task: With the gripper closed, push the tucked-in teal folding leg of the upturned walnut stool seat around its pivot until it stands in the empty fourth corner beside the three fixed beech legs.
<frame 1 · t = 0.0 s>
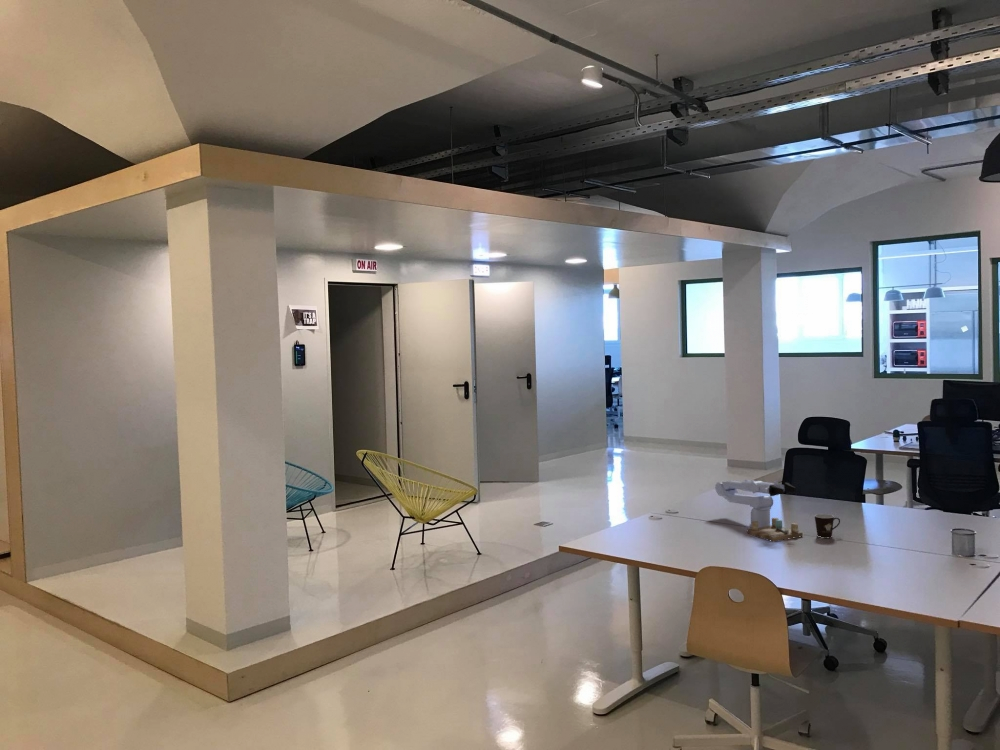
hand: (789, 490, 373), 22 cm above the table, tool horizontal, fingers open, 7 cm apart
coffee mug: (827, 537, 368), on the table
stool seat: (774, 535, 375), on the table
folding leg: (782, 526, 373), point 4 cm above the table, hinge at -108.0°
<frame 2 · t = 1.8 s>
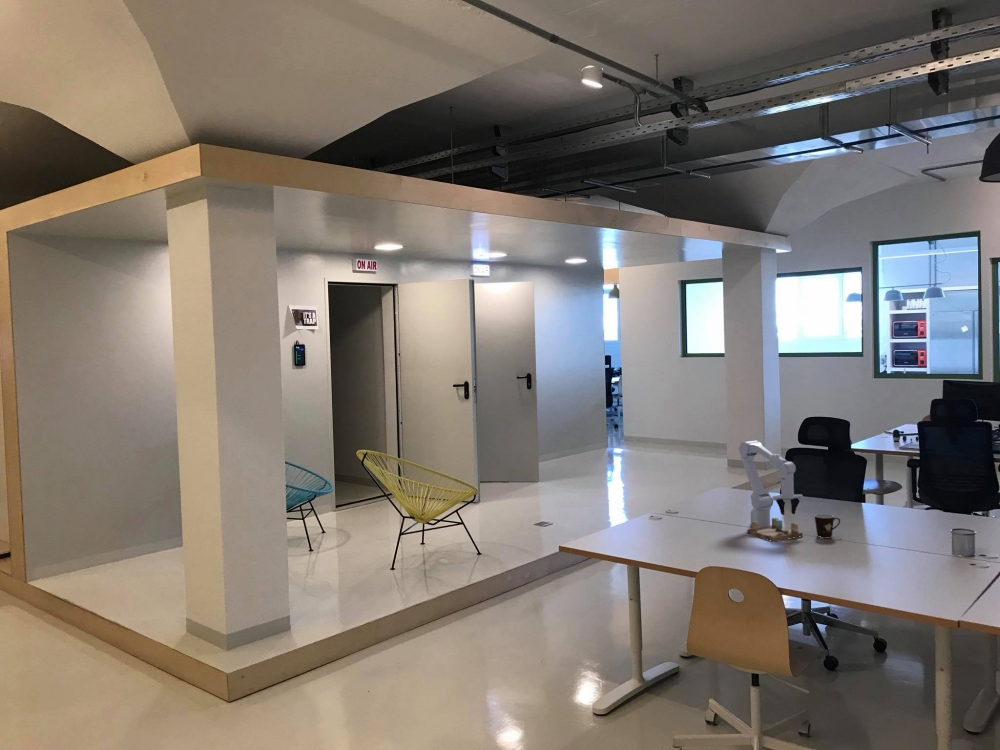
hand: (787, 514, 377), 9 cm above the table, tool pointing down, fingers open, 5 cm apart
nothing on the table moved.
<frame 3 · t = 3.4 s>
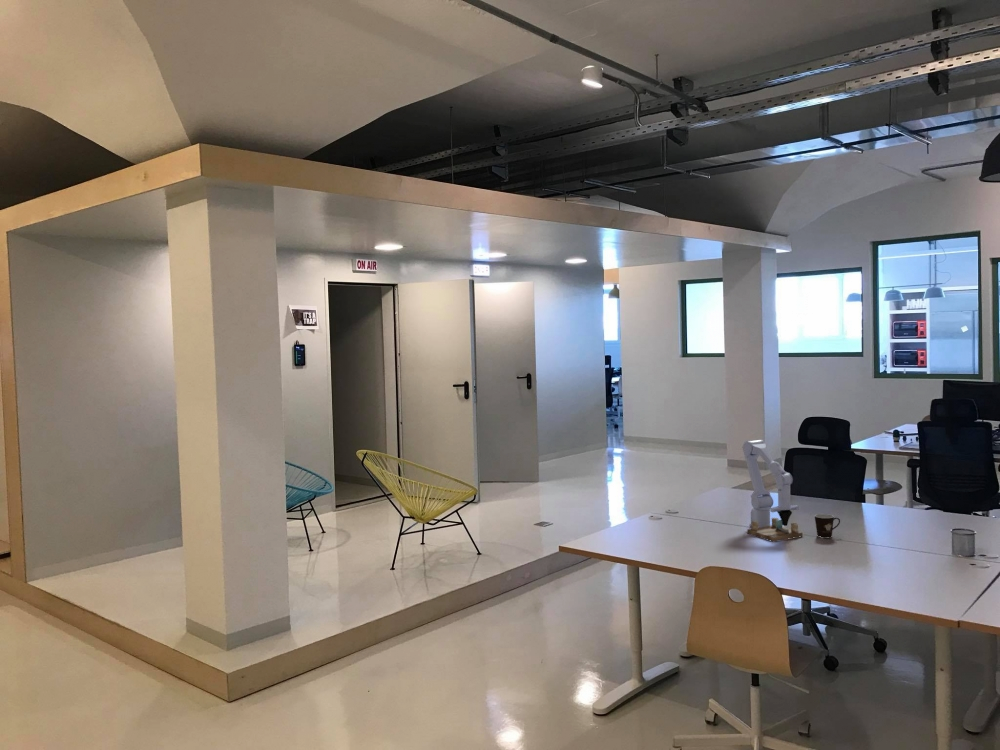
hand: (784, 525, 377), 4 cm above the table, tool pointing down, fingers closed
folding leg: (782, 526, 373), point 4 cm above the table, hinge at -108.0°, touching gripper
everything else where it was.
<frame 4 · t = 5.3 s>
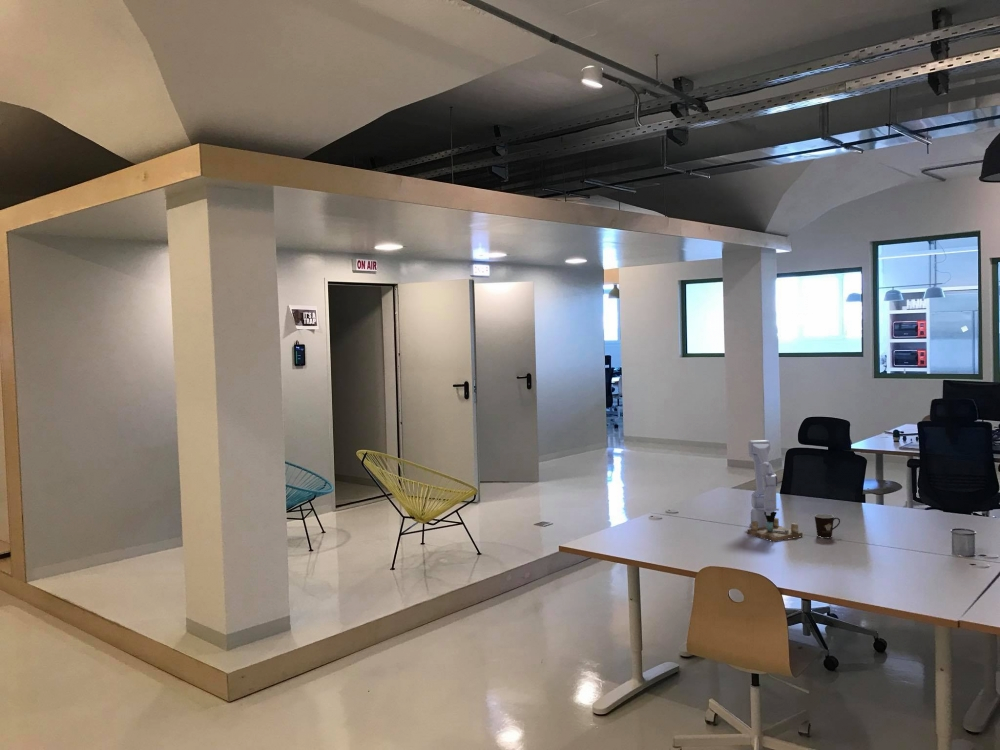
hand: (770, 526, 375), 4 cm above the table, tool pointing down, fingers closed, pressing on folding leg
folding leg: (777, 527, 371), point 4 cm above the table, hinge at -59.2°, touching gripper
everything else where it was.
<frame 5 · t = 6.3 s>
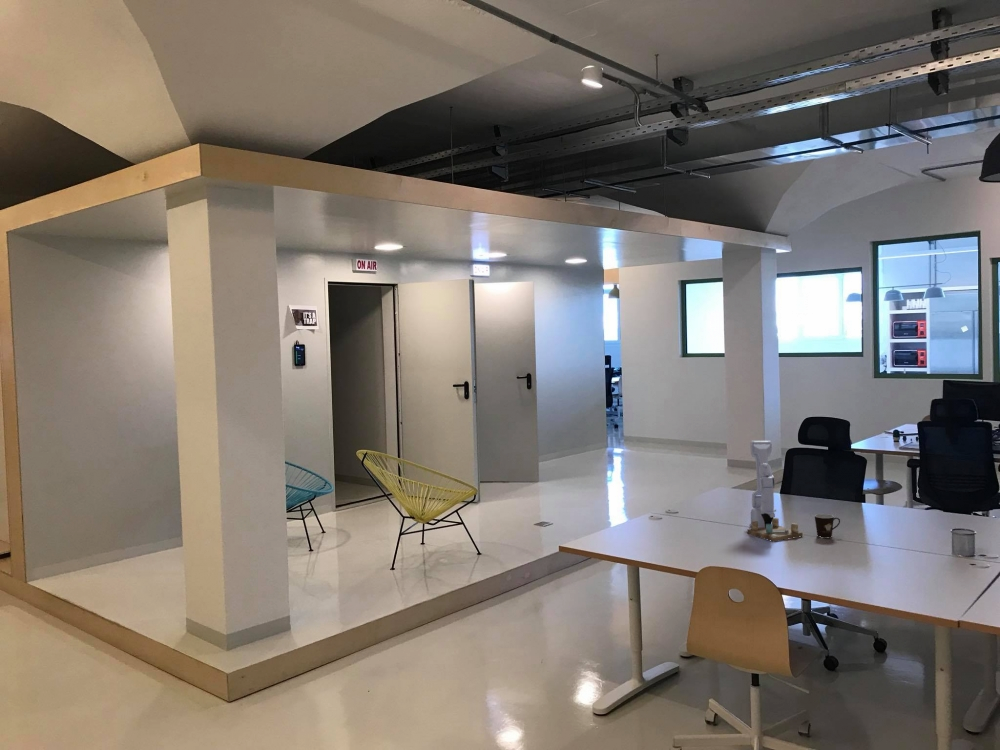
hand: (767, 528, 372), 4 cm above the table, tool pointing down, fingers closed, pressing on folding leg
folding leg: (777, 528, 370), point 4 cm above the table, hinge at -31.6°, touching gripper
everything else where it was.
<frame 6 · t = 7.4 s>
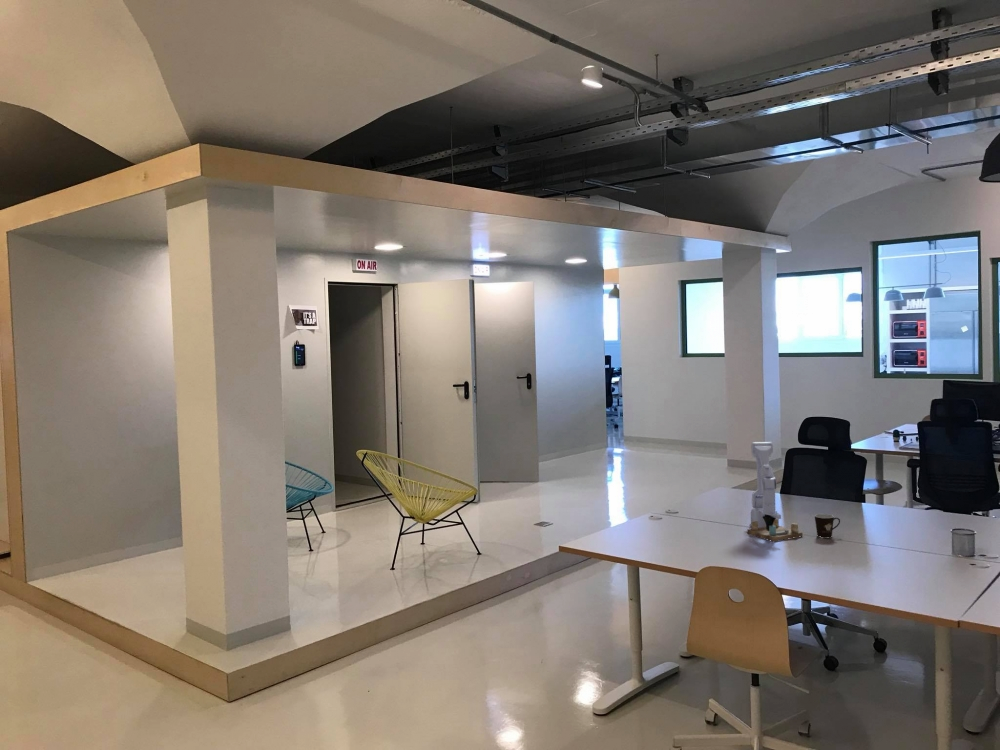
hand: (769, 530, 368), 4 cm above the table, tool pointing down, fingers closed, pressing on folding leg
folding leg: (779, 529, 368), point 4 cm above the table, hinge at -5.3°, touching gripper
everything else where it was.
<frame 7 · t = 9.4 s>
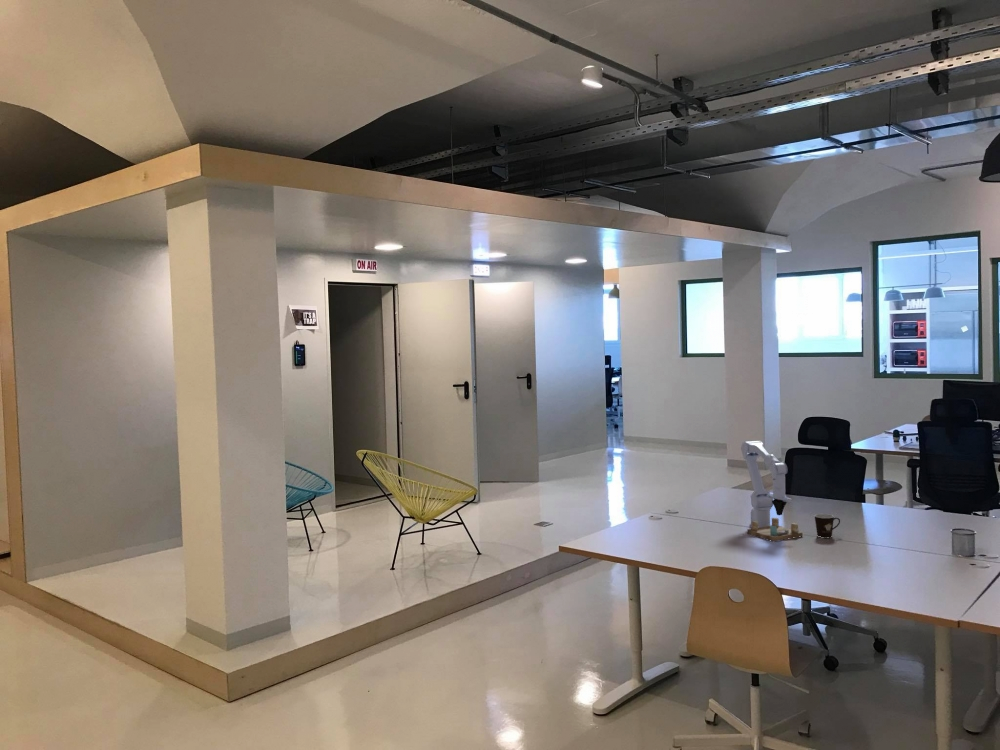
hand: (779, 514, 376), 9 cm above the table, tool pointing down, fingers closed
folding leg: (779, 529, 367), point 4 cm above the table, hinge at 0.1°
everything else where it was.
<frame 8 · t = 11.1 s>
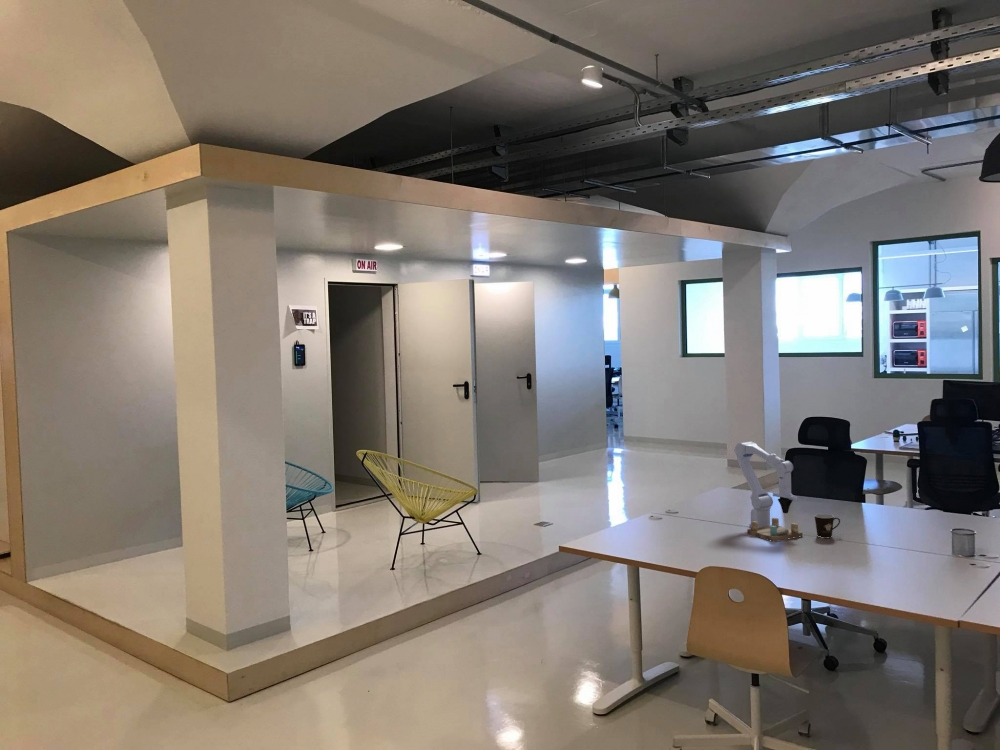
hand: (785, 512, 379), 9 cm above the table, tool pointing down, fingers closed
nothing on the table moved.
at the end: folding leg at +0° (first picture: -108°); coffee mug moved 0.2 cm from its start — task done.
